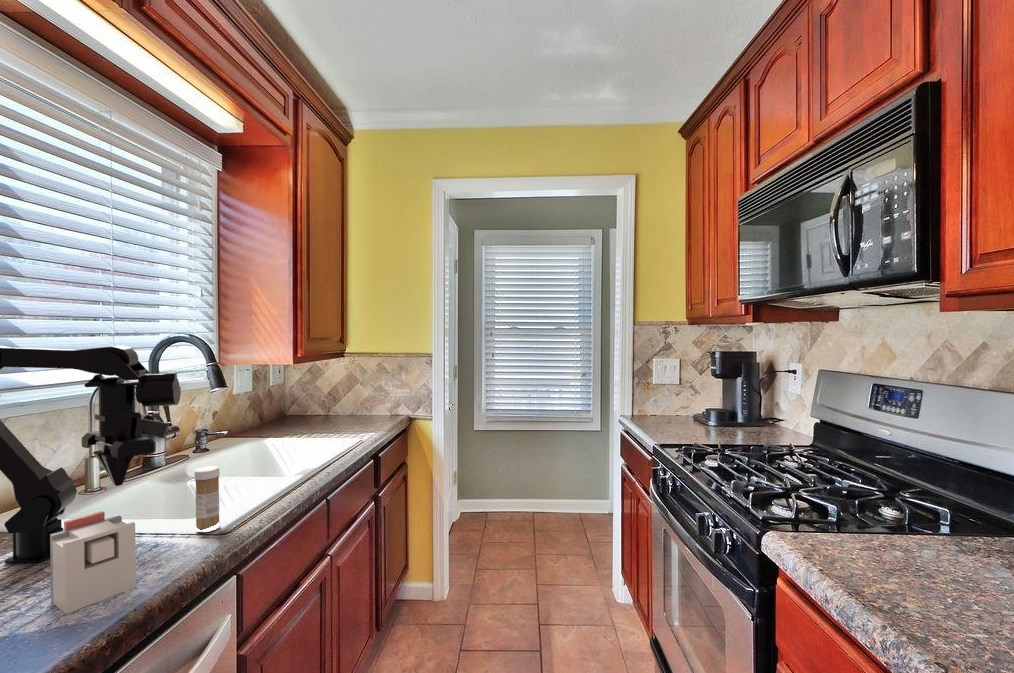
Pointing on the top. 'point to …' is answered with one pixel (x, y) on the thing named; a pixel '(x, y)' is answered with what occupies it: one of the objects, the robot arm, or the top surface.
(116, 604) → the top surface
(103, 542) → the button
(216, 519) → the sprinkles bottle
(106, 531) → the box
